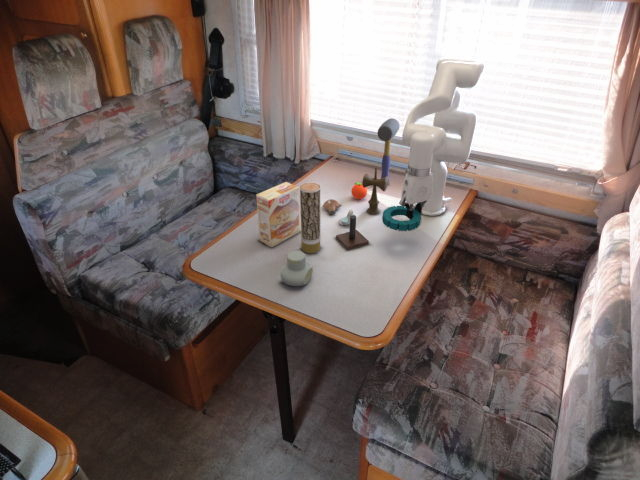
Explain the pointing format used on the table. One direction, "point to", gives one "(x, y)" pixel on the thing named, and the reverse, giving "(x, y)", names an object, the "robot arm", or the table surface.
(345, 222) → the pacifier
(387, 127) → the rubber mallet
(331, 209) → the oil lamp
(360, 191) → the clementine
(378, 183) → the kendama
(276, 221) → the coffeecake box
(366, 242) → the peg stand
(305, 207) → the patterned cylinder
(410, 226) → the ring
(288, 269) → the air freshener
